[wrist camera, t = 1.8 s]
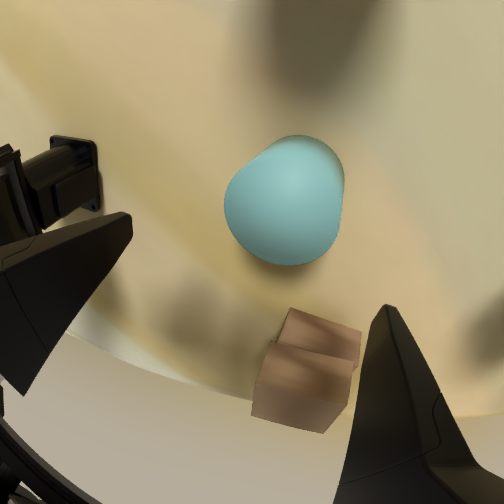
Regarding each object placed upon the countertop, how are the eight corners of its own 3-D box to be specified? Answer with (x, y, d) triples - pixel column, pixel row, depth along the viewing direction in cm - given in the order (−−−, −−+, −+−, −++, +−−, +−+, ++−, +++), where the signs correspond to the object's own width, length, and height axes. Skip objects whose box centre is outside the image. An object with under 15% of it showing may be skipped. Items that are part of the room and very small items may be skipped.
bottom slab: (273, 347, 25) (261, 378, 22) (291, 305, 22) (279, 339, 19) (333, 367, 24) (326, 399, 22) (361, 329, 21) (358, 365, 18)
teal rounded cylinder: (251, 202, 18) (218, 244, 14) (267, 125, 15) (232, 143, 11) (329, 228, 17) (318, 279, 13) (356, 151, 14) (357, 181, 10)
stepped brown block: (264, 381, 23) (250, 415, 20) (271, 341, 19) (255, 382, 16) (331, 398, 21) (323, 433, 19) (353, 361, 18) (347, 404, 15)
